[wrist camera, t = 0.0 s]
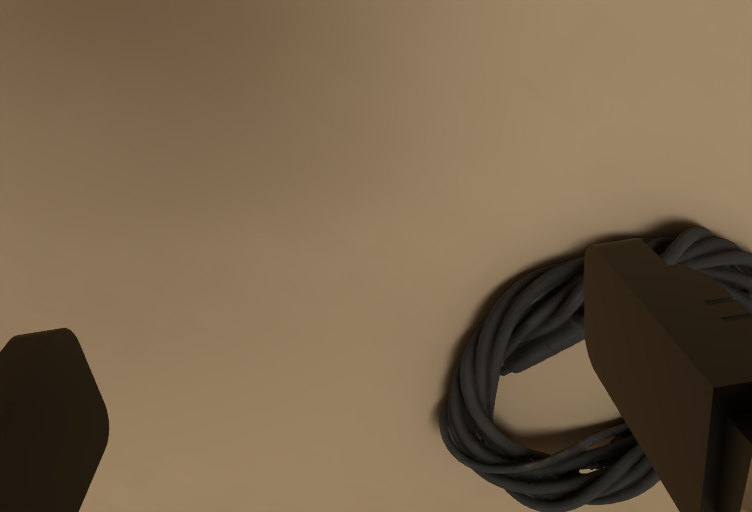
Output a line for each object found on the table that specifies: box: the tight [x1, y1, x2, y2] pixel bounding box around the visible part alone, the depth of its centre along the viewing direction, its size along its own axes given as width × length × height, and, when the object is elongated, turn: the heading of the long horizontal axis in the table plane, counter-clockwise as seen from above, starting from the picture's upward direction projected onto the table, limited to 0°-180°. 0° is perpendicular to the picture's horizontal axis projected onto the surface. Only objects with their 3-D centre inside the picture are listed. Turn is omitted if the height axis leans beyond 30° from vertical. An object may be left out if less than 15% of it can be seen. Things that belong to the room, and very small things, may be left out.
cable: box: [439, 226, 752, 512], centre depth 32 cm, size 17×14×4 cm
